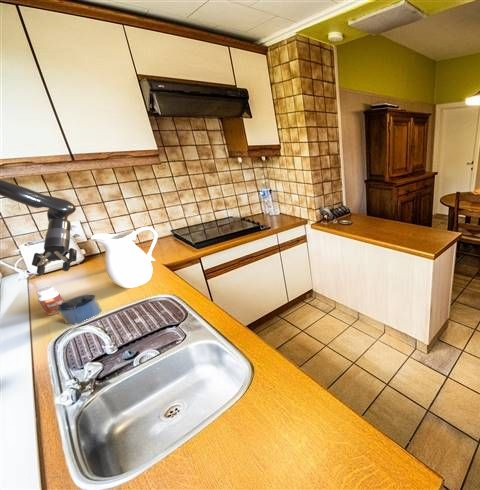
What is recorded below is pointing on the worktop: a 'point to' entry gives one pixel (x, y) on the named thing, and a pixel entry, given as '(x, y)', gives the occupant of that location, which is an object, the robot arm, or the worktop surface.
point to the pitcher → (126, 258)
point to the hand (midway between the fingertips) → (53, 272)
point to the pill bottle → (49, 300)
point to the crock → (79, 309)
